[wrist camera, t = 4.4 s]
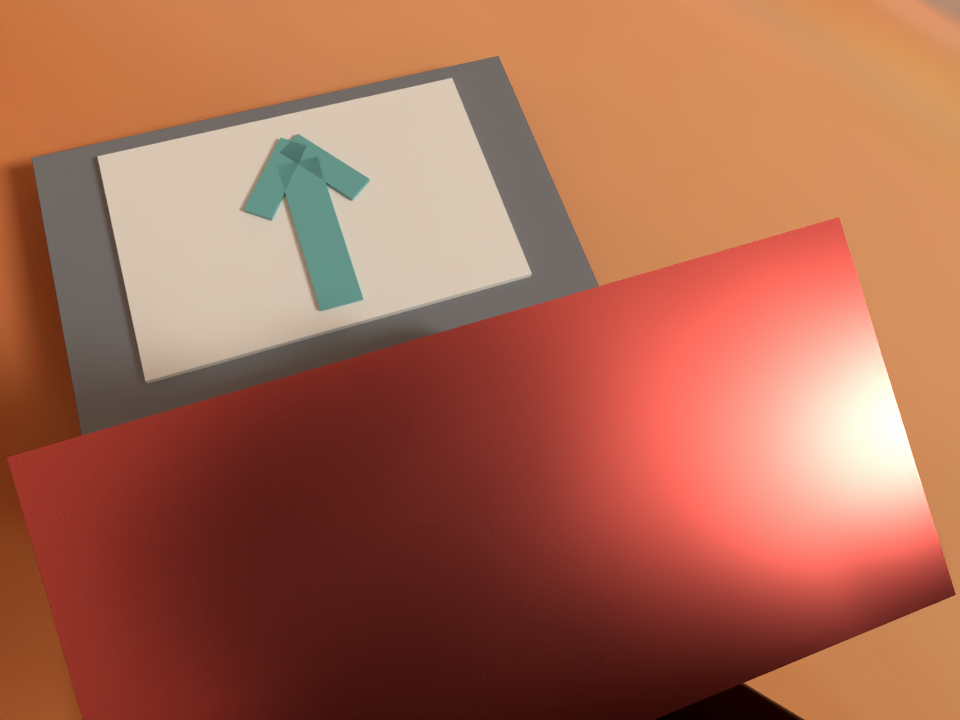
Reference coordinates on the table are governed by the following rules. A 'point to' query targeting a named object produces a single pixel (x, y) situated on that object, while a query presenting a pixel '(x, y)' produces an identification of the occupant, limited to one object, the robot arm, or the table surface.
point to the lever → (504, 512)
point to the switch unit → (298, 237)
